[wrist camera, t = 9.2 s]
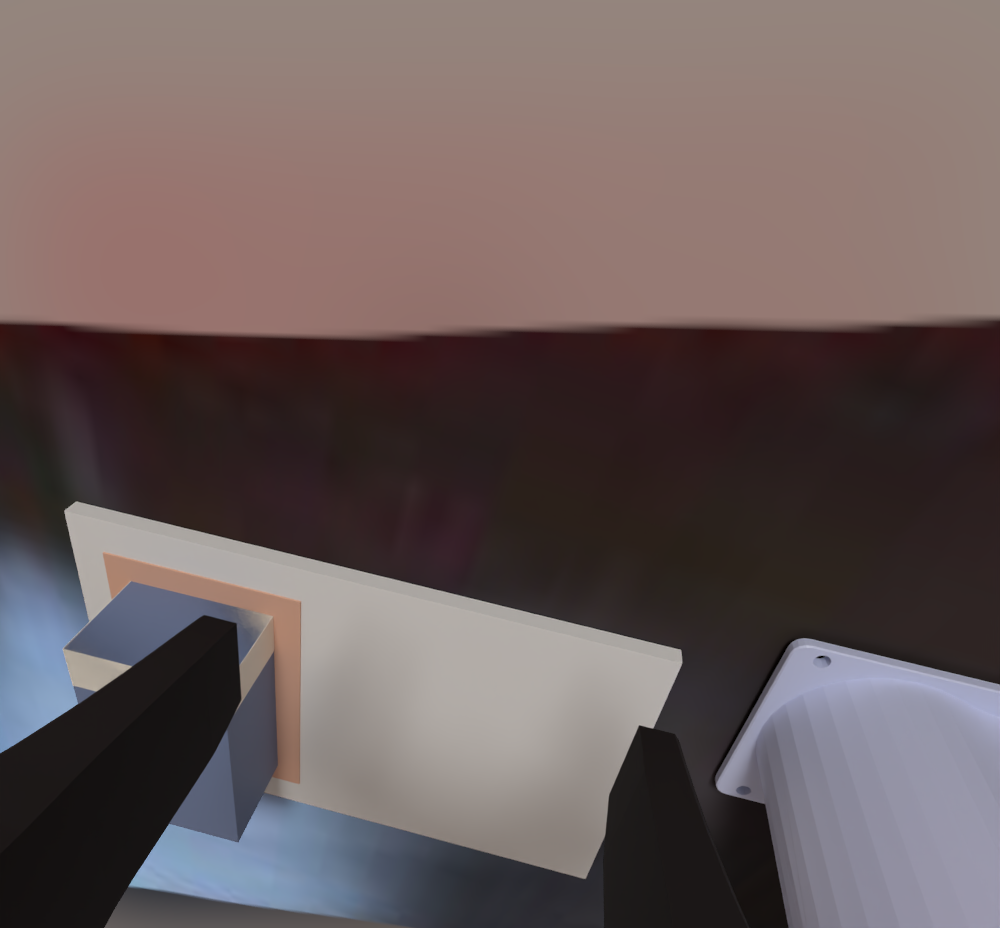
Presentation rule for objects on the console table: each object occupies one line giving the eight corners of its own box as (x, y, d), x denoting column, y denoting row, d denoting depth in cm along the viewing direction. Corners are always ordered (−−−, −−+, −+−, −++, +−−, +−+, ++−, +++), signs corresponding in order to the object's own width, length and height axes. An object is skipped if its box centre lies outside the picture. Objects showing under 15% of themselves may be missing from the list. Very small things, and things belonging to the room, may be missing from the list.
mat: (681, 649, 22) (682, 665, 22) (586, 865, 30) (585, 880, 29) (76, 501, 24) (62, 511, 23) (127, 742, 31) (118, 754, 30)
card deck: (278, 765, 29) (238, 842, 26) (158, 734, 29) (106, 806, 26) (273, 616, 24) (224, 689, 21) (130, 580, 24) (62, 648, 21)
